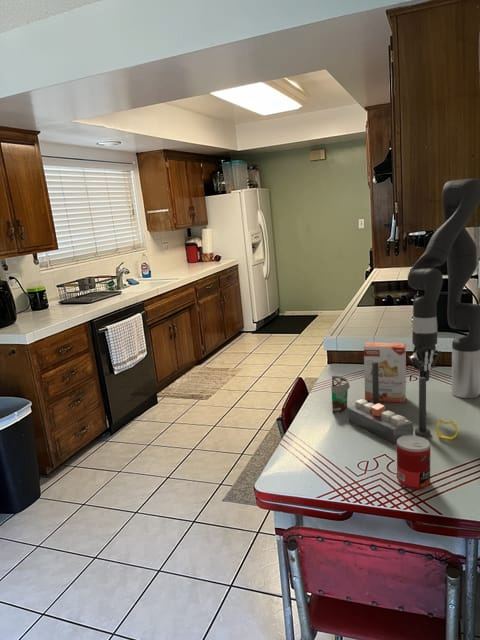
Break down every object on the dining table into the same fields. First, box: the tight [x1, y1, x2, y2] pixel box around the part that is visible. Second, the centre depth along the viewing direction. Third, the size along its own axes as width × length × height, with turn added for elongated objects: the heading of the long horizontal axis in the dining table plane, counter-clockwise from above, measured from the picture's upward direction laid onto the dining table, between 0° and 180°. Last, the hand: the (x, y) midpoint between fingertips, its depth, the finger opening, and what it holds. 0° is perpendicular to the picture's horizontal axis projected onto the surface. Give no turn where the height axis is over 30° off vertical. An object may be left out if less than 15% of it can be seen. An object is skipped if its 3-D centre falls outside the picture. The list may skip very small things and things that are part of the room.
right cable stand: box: [414, 376, 431, 438], centre depth 145 cm, size 4×4×18 cm
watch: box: [434, 417, 459, 440], centre depth 142 cm, size 6×3×6 cm, turn 59°
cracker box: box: [363, 341, 407, 404], centre depth 173 cm, size 14×6×21 cm, turn 68°
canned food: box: [396, 435, 431, 491], centre depth 121 cm, size 8×8×11 cm
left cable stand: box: [372, 362, 380, 405], centre depth 162 cm, size 4×4×18 cm
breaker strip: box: [347, 398, 414, 446], centre depth 151 cm, size 8×20×7 cm, turn 28°
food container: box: [330, 375, 351, 414], centre depth 170 cm, size 12×6×10 cm, turn 168°
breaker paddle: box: [371, 402, 386, 417], centre depth 150 cm, size 3×3×2 cm
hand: (424, 380), depth 158 cm, fingers closed
